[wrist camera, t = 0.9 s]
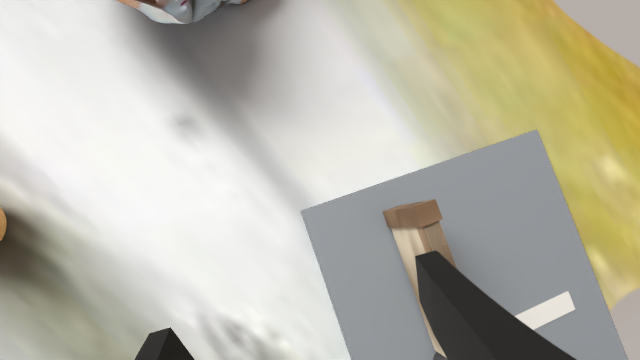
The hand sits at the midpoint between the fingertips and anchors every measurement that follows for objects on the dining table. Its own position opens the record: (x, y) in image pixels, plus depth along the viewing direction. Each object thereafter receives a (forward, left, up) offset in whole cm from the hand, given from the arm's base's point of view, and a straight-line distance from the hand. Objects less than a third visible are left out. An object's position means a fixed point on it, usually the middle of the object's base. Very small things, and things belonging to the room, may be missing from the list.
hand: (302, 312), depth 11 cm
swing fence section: (-4, -9, -13) cm, 17 cm away
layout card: (-9, -13, -14) cm, 21 cm away
